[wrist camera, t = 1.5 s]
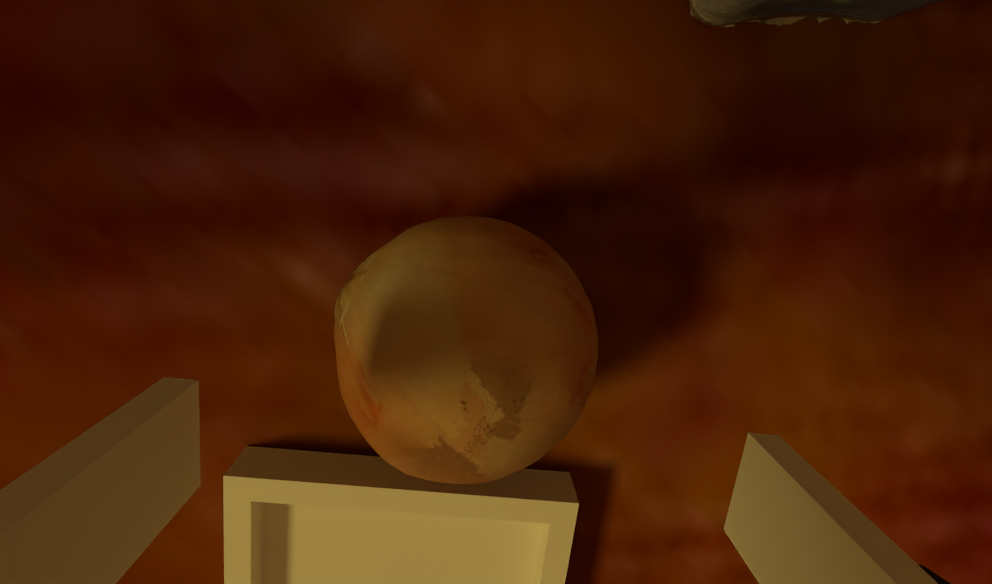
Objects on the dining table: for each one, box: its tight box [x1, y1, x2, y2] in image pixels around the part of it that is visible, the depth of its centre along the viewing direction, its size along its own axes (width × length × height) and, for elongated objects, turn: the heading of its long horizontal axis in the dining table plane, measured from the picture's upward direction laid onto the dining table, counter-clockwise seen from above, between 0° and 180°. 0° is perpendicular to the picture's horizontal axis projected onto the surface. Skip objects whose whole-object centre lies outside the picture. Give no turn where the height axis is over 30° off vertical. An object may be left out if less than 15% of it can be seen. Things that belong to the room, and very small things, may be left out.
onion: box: [334, 216, 598, 484], centre depth 20 cm, size 10×10×10 cm
